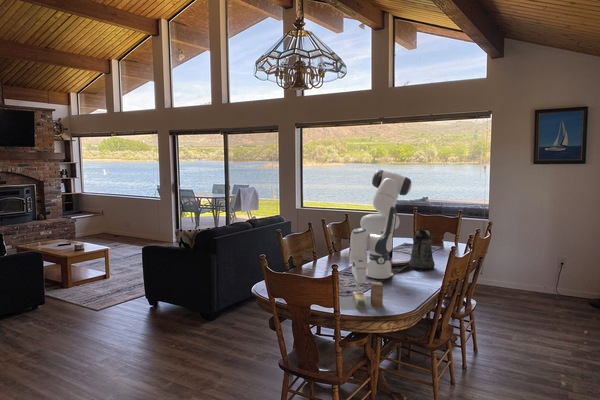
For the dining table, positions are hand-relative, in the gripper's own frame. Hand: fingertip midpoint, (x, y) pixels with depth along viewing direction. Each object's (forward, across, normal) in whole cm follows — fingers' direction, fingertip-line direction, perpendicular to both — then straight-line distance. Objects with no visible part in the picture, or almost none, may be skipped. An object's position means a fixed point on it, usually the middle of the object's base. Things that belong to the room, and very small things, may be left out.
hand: (357, 286), depth 224 cm
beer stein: (+8, -61, +53) cm, 81 cm away
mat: (+8, +2, +1) cm, 9 cm away
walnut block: (+8, +6, +8) cm, 13 cm away
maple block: (+5, 0, 0) cm, 5 cm away
